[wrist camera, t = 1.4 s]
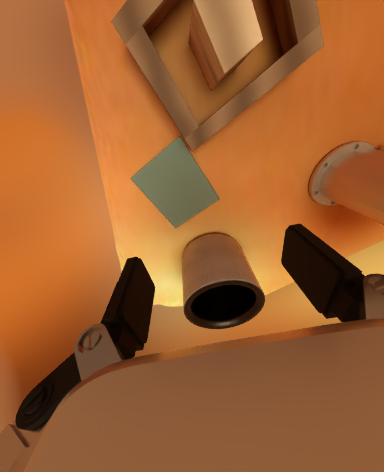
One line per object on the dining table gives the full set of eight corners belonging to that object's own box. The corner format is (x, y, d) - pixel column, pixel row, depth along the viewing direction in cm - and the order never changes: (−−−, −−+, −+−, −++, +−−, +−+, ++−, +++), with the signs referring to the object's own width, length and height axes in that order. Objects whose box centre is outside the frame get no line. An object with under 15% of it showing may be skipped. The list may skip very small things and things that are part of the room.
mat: (179, 136, 28) (179, 136, 28) (219, 198, 35) (219, 198, 35) (130, 178, 32) (130, 178, 31) (175, 227, 38) (175, 228, 38)
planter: (173, 240, 40) (171, 292, 27) (237, 223, 39) (266, 270, 26) (190, 281, 49) (194, 336, 36) (242, 269, 48) (266, 321, 35)
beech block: (216, 14, 21) (237, -50, 14) (236, 67, 24) (262, 39, 17) (188, 42, 22) (193, -1, 15) (211, 90, 25) (224, 73, 18)
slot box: (254, -105, 17) (286, -205, 12) (293, 63, 24) (323, 46, 19) (126, 46, 22) (110, 21, 17) (190, 147, 29) (192, 151, 24)
